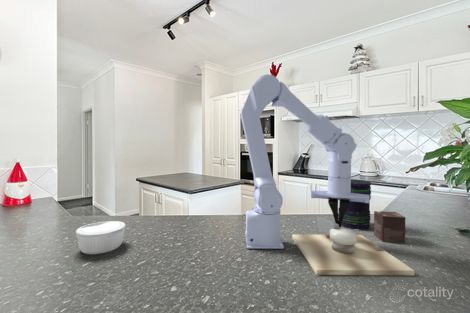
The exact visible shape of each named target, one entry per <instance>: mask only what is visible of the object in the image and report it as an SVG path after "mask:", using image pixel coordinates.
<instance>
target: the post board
mask: <svg viewBox="0 0 470 313" xmlns="http://www.w3.org/2000/svg"><path fill="white" fill-rule="evenodd" d="M291 238H292V240H293V241H294V243H295V244H296V247H297V248H298V249H299V250H300V252H301V253H302V255H303V256H304V258H305V260H306V261H307V263H308V264H309V266H310V267H311V269H312V270H313V271H314V273H315V275H316V276H320V275H321V276H415V273H416V272H415V269H413V268H411V267H410V266H408V265H407V264H406V263H404V262H402V261H401V260H400V259H398V258H396V257H395V256H393V255H392V254H391V253H389V252H388V251H386V250H384V249H383V248H381V246H378V245H377V244H376V243H374V242H373V241H371V240H370V239H369V238H366V237H365V236H364V235H362V234H357V243H356V244H354V245H343V244H338V243H335V242H333V241H331V240H330V235H329V234H327V233H326V234H300V233H299V234H294V233H293V234H292V235H291Z"/></svg>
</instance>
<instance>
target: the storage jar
mask: <svg viewBox="0 0 470 313" xmlns="http://www.w3.org/2000/svg"><path fill="white" fill-rule="evenodd" d="M371 185H372V183H371V181H365V180H358V179H351V193H357V194H366V195H369V196H370V198H369V203H365V202H355V201H350V205H349V207H348V209H347V211H346V212H345V215H344V217H343V220H342V224H341V228H342V227H343V228H344V229H349V228H350V229H349V230H354V229H359V230H358V231H366V230H365V229H367V230H369V229H370V228H371V225H370V224H371V210H370V206H371V205H370V204H371V202H370V201H371V199H372V196H371V194H372V189H371V188H372V187H371ZM346 199H347V198H346ZM339 206H340V200H338V207H339ZM338 220H339V208H338Z"/></svg>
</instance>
